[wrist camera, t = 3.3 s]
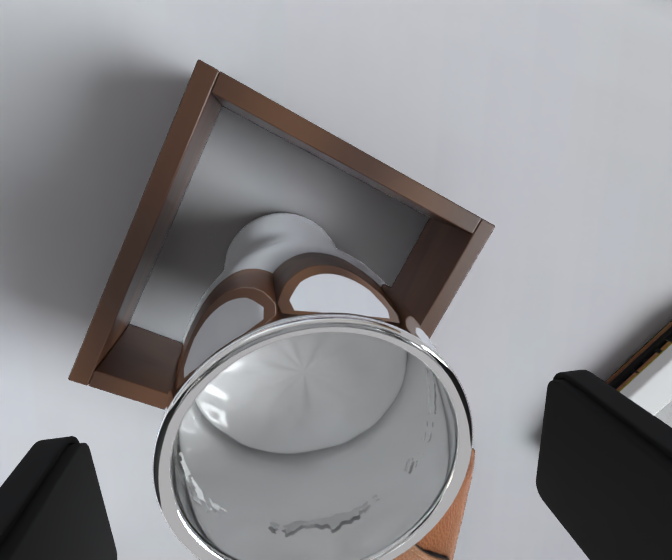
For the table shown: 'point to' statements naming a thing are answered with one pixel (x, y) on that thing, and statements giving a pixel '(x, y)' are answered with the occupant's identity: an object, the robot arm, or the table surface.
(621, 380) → the harmonica
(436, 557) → the sunglasses case
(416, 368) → the beer glass
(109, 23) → the table surface
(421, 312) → the crate
